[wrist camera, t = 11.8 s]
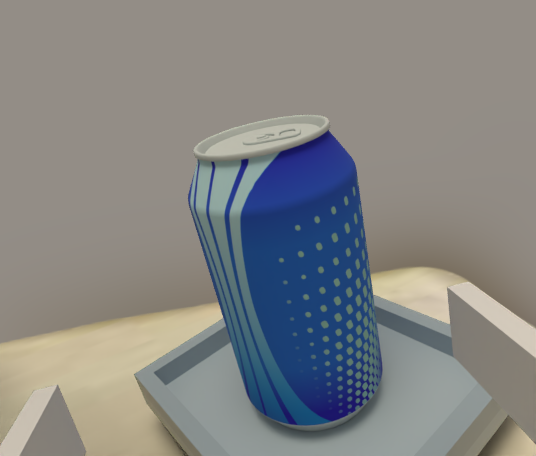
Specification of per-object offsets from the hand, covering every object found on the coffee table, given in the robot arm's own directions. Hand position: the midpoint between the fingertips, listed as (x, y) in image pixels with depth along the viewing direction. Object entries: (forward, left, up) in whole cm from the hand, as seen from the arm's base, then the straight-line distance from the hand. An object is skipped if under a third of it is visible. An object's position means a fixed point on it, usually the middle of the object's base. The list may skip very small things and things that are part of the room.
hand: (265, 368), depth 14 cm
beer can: (-7, +7, -10) cm, 14 cm away
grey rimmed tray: (-7, +7, -14) cm, 17 cm away
